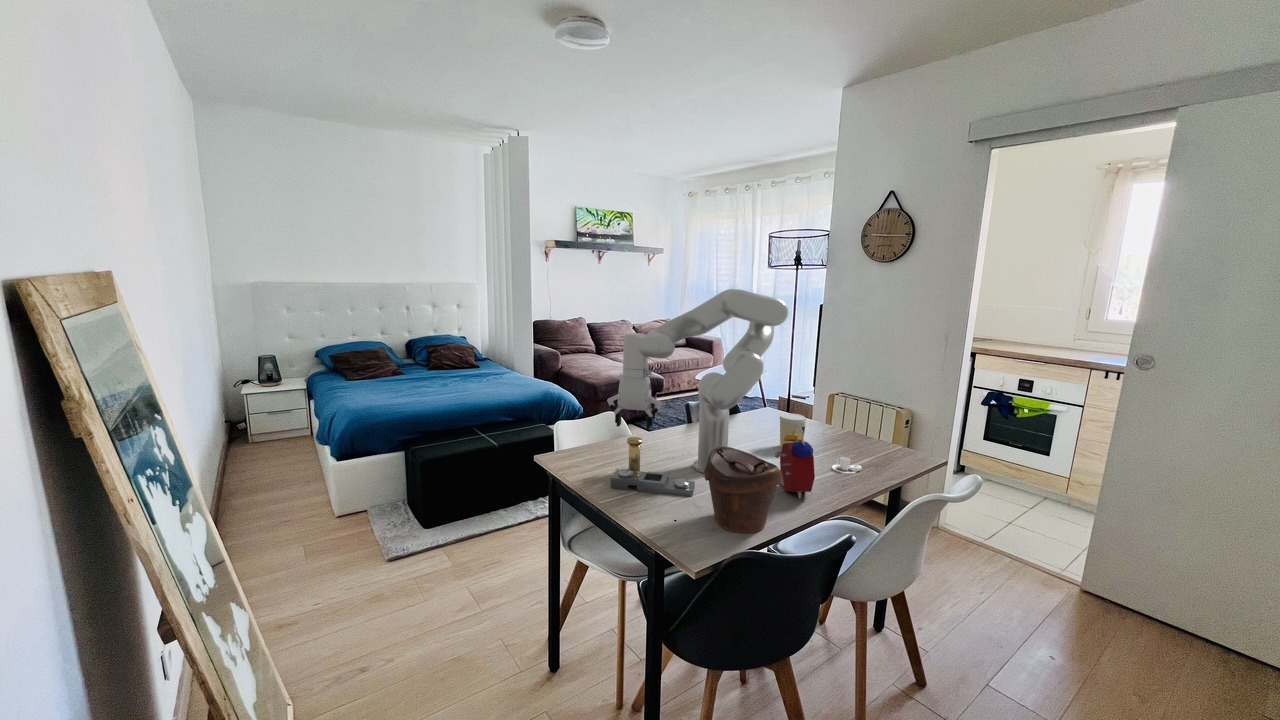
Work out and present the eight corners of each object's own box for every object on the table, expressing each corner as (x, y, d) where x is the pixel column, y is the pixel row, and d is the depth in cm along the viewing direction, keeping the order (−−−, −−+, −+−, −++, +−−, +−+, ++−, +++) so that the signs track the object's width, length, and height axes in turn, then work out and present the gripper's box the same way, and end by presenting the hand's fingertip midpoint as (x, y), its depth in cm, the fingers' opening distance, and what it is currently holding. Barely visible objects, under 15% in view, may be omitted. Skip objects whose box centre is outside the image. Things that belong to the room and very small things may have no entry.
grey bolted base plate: (694, 485, 153) (695, 472, 152) (691, 497, 145) (692, 483, 145) (617, 478, 158) (617, 465, 157) (610, 488, 150) (610, 475, 150)
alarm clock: (813, 502, 143) (818, 433, 140) (782, 501, 143) (786, 433, 140) (798, 481, 157) (802, 418, 154) (770, 480, 158) (773, 418, 154)
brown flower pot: (785, 543, 120) (789, 471, 118) (700, 535, 124) (702, 465, 121) (778, 510, 138) (782, 446, 135) (703, 503, 141) (706, 441, 138)
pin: (643, 470, 165) (643, 437, 163) (640, 476, 160) (640, 442, 158) (628, 469, 166) (629, 436, 164) (625, 474, 161) (625, 441, 159)
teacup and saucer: (863, 470, 168) (864, 458, 167) (854, 477, 162) (855, 465, 162) (836, 463, 174) (837, 452, 173) (827, 470, 168) (828, 458, 167)
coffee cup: (807, 452, 184) (809, 420, 182) (781, 452, 184) (783, 419, 182) (800, 444, 193) (802, 413, 191) (775, 443, 193) (777, 412, 191)
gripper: (664, 373, 159) (662, 425, 162) (611, 369, 163) (610, 421, 166) (660, 377, 152) (658, 432, 155) (604, 373, 156) (603, 427, 158)
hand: (633, 426), depth 160 cm, fingers open, 9 cm apart
